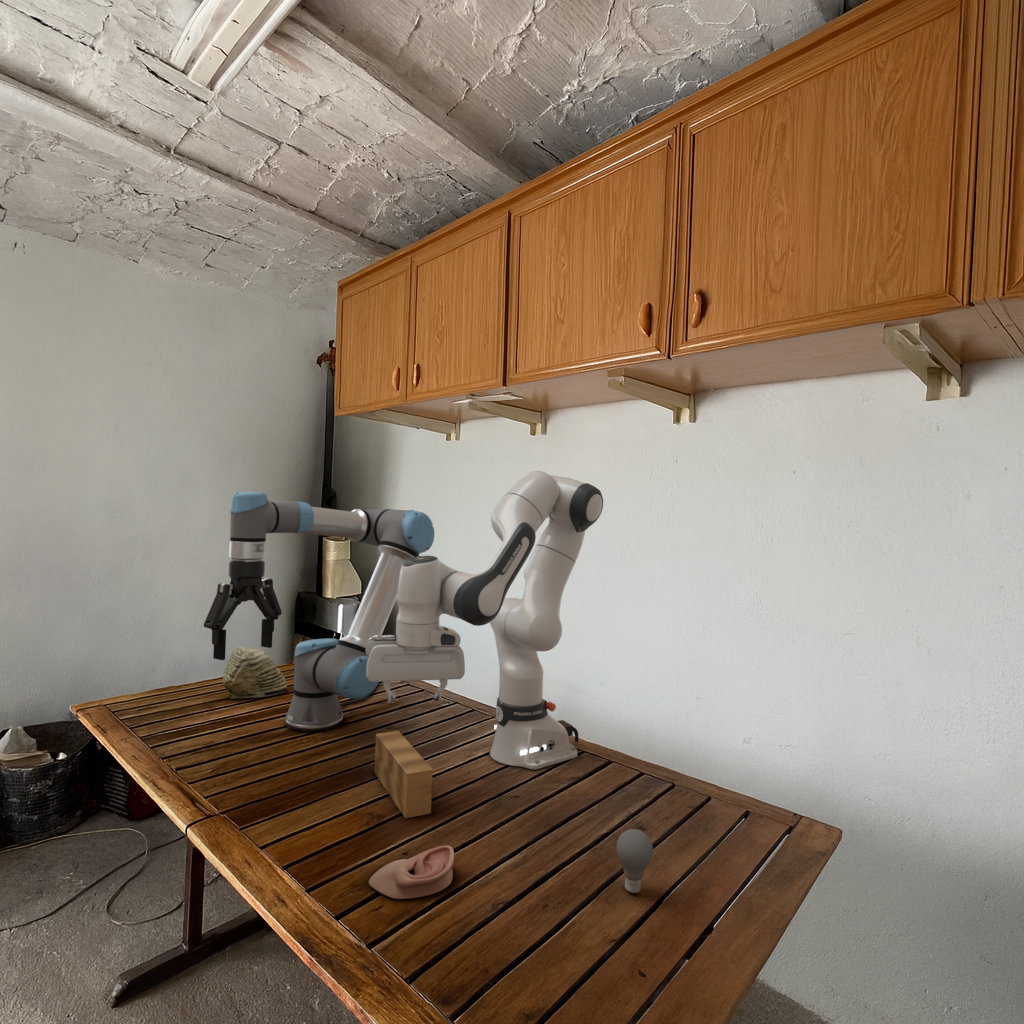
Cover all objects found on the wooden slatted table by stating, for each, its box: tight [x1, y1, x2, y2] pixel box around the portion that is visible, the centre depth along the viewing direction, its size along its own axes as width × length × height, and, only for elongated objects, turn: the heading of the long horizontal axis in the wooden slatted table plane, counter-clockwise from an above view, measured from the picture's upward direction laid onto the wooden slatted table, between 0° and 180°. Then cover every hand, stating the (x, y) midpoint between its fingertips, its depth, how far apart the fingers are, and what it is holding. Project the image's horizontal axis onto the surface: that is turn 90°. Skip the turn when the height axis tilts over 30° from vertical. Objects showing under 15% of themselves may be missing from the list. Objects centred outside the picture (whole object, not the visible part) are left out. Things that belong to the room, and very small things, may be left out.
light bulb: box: [615, 828, 654, 894], centre depth 106 cm, size 6×6×10 cm
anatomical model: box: [368, 844, 455, 900], centre depth 106 cm, size 13×4×12 cm
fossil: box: [222, 646, 288, 699], centre depth 198 cm, size 9×18×15 cm, turn 132°
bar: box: [373, 730, 434, 819], centre depth 138 cm, size 23×5×9 cm, turn 28°
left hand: (243, 652), depth 144 cm, fingers open, 13 cm apart
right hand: (414, 700), depth 131 cm, fingers open, 8 cm apart
